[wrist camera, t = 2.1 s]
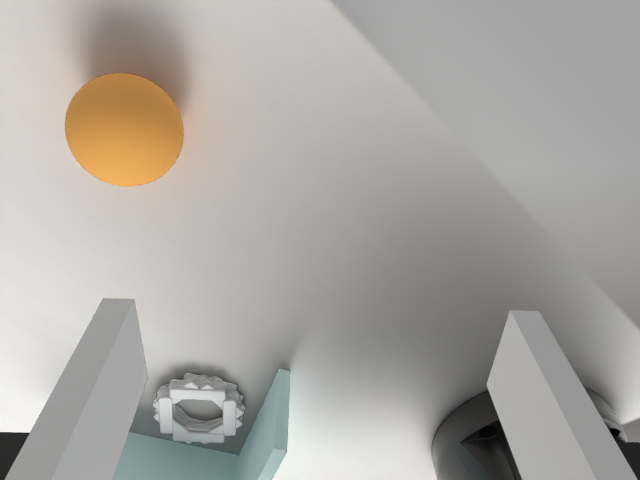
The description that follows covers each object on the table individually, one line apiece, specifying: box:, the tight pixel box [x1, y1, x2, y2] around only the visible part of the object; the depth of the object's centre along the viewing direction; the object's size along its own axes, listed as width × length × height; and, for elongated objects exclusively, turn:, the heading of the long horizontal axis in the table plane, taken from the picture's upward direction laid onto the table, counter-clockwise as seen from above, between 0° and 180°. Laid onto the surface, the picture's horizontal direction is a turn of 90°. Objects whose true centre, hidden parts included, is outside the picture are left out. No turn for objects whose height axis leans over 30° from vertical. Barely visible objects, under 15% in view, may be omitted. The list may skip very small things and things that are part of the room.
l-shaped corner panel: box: [112, 368, 290, 480], centre depth 38 cm, size 12×12×8 cm
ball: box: [65, 73, 184, 186], centre depth 26 cm, size 6×6×6 cm
